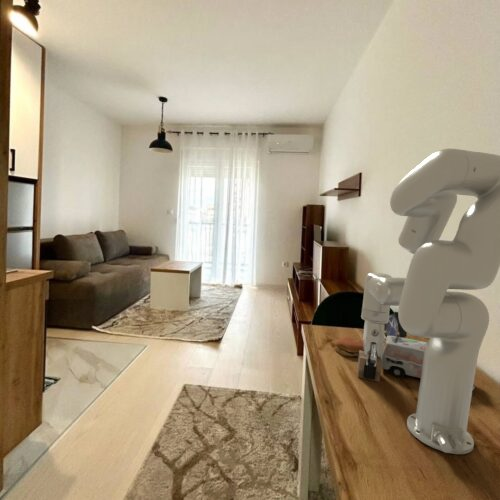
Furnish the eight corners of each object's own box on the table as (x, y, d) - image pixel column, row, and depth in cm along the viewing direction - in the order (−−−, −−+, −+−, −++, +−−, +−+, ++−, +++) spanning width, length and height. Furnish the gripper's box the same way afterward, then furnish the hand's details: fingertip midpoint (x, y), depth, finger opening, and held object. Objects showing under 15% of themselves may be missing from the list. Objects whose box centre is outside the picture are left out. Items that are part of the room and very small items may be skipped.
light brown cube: (379, 381, 94) (382, 361, 93) (357, 377, 95) (360, 357, 95) (377, 372, 99) (379, 354, 99) (357, 368, 101) (359, 350, 100)
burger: (330, 351, 114) (331, 338, 113) (342, 345, 121) (343, 333, 120) (357, 361, 107) (358, 347, 107) (368, 354, 114) (370, 341, 114)
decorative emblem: (403, 359, 112) (408, 316, 110) (396, 358, 112) (401, 316, 110) (389, 346, 123) (393, 307, 122) (382, 345, 123) (387, 307, 122)
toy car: (474, 397, 89) (479, 362, 88) (378, 373, 100) (382, 341, 99) (467, 381, 99) (471, 349, 98) (380, 360, 109) (383, 332, 108)
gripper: (392, 325, 86) (384, 389, 88) (385, 309, 103) (378, 364, 104) (363, 320, 88) (356, 384, 90) (360, 306, 105) (354, 359, 107)
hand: (368, 372), depth 97 cm, fingers closed on light brown cube, 6 cm apart
